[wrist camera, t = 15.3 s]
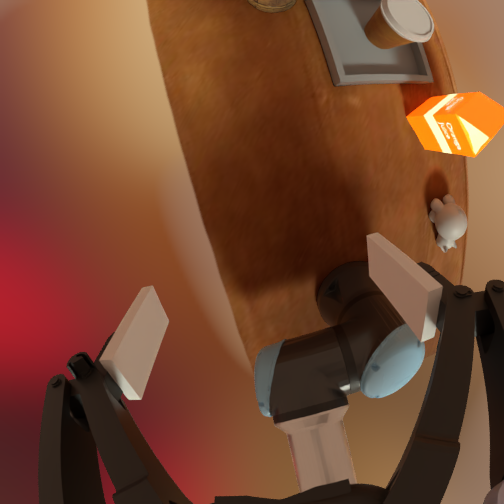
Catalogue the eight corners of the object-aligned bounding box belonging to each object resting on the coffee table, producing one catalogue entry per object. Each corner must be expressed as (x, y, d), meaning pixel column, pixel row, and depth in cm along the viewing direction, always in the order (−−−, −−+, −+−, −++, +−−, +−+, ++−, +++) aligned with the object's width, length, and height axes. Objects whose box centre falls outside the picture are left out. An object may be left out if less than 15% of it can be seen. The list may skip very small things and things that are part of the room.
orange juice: (448, 128, 40) (520, 136, 21) (424, 150, 42) (498, 163, 23) (430, 96, 38) (502, 89, 19) (405, 116, 40) (479, 113, 21)
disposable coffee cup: (365, 7, 30) (392, -19, 19) (406, 35, 32) (440, 17, 21) (348, 37, 33) (376, 12, 22) (392, 66, 35) (429, 52, 24)
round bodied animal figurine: (419, 239, 52) (438, 267, 46) (428, 195, 44) (452, 223, 37) (442, 232, 51) (461, 258, 45) (453, 189, 43) (477, 215, 37)
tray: (423, 84, 37) (433, 82, 33) (334, 86, 38) (340, 82, 35) (393, 0, 29) (401, -6, 26) (302, -5, 31) (306, -14, 27)
